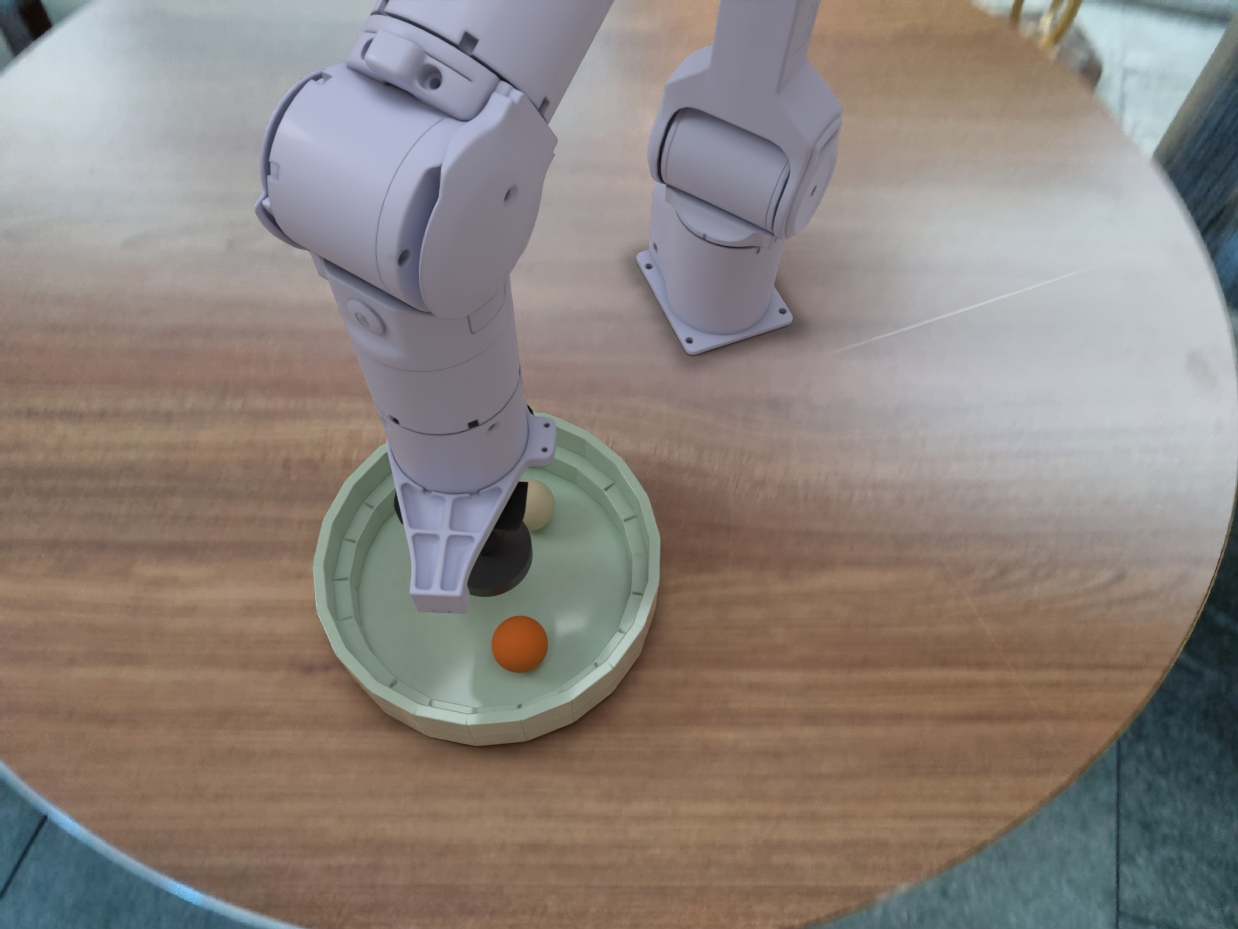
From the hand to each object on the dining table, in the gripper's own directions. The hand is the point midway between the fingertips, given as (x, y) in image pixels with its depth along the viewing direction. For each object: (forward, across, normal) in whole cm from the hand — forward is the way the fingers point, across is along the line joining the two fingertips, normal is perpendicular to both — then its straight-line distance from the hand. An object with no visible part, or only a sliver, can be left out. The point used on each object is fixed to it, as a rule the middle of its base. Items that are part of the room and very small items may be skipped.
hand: (483, 529), depth 47 cm
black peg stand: (+3, 0, 0) cm, 3 cm away
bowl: (+8, 0, 0) cm, 8 cm away
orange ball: (+5, -4, -2) cm, 7 cm away
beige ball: (+5, +4, -2) cm, 7 cm away
